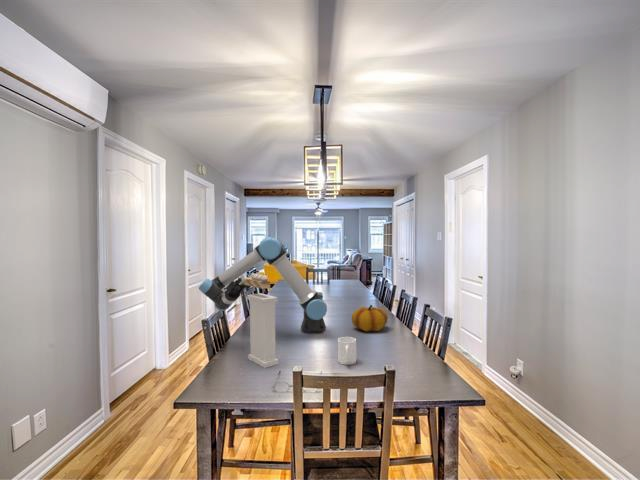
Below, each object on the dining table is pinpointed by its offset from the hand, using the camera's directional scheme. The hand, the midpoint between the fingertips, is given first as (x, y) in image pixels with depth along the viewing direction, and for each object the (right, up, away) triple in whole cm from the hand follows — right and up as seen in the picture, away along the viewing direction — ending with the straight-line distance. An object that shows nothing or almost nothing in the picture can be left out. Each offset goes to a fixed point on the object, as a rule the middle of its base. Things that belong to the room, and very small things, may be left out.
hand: (249, 276), depth 168 cm
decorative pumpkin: (+64, -37, +43) cm, 86 cm away
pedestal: (+8, -38, -8) cm, 40 cm away
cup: (+46, -38, -12) cm, 61 cm away
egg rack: (+3, -4, -3) cm, 6 cm away
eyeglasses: (+26, -39, -30) cm, 56 cm away
